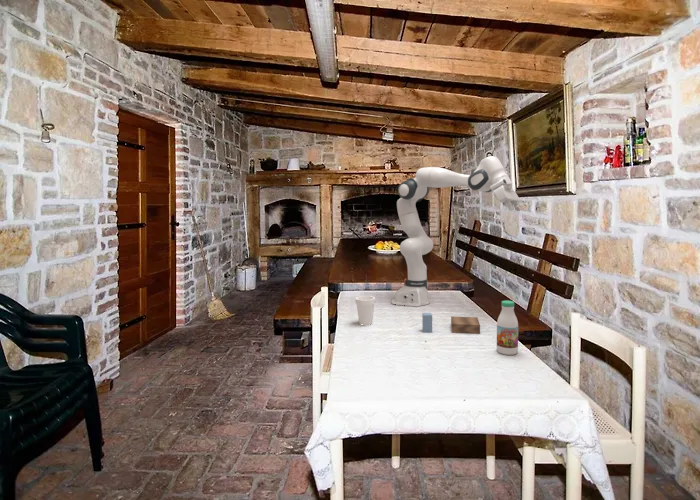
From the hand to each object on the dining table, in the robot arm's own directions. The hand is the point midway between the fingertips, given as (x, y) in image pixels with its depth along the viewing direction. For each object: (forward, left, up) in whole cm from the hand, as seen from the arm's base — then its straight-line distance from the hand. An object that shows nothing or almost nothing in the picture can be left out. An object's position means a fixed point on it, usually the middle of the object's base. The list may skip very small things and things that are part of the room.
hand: (515, 210), depth 183 cm
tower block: (-41, -22, -54) cm, 71 cm away
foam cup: (-71, -15, -54) cm, 91 cm away
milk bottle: (-10, -43, -54) cm, 70 cm away
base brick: (-24, -17, -54) cm, 61 cm away
